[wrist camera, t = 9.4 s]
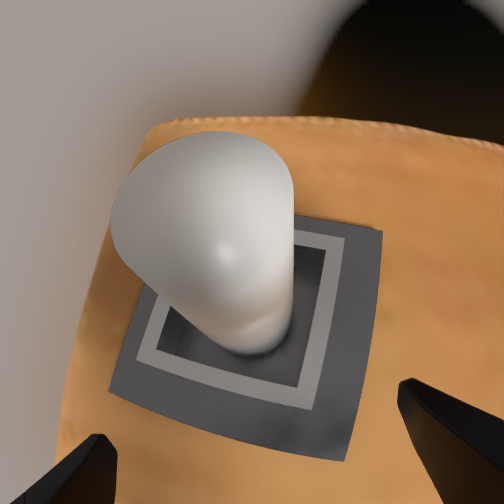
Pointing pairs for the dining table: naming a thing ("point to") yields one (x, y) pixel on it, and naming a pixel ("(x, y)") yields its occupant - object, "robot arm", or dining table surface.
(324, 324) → the duct collar
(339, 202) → the dining table surface
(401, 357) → the dining table surface
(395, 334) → the dining table surface
